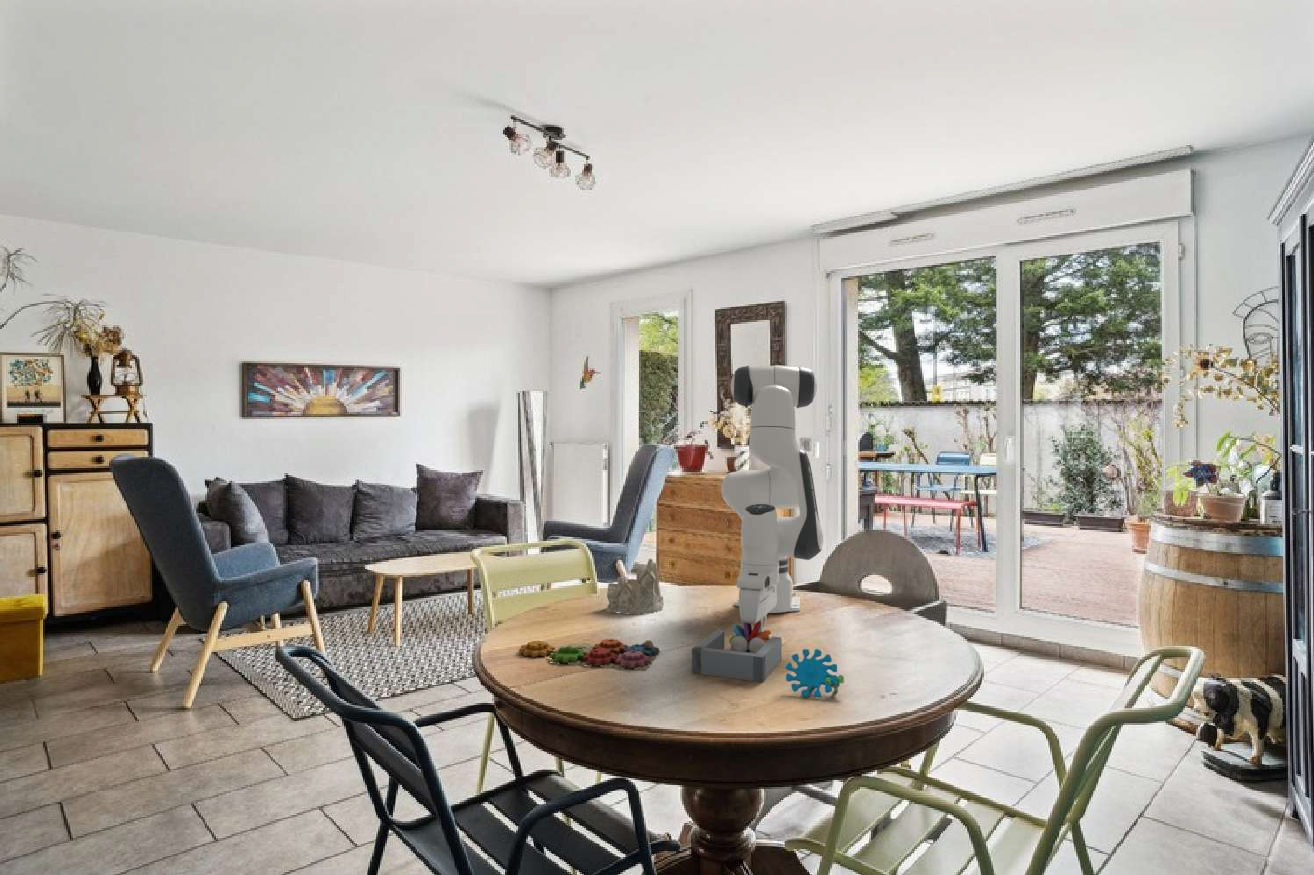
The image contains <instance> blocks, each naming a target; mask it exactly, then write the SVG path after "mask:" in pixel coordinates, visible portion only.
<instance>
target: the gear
mask: <svg viewBox="0 0 1314 875" xmlns="http://www.w3.org/2000/svg"><path fill="white" fill-rule="evenodd" d="M802 655H803V659H802V661H799V658H800V656H799V654H798V653H794V654H792V655H791V660H792V661H793V662H794V663H795V664H796V666H797V667H795V668H794V666H793V664H792V663H791V662H787V663H786V665H785V669H786V671H789V672H793V673H794V674H795V676H794V675H792V674H791V673H786V675H785V680H786V682H789V683H790V682H793V681H795V682H799V683H798V684H797V683H795V682H794V683H791V685H790V687H791V689H792V692H794V693H796V692H797V691H798V690H799V689H801V688H803V687H806V689H802V690H801V692H800V694H801V696H802V697H803V696H804V698H805V697H807V698H808V697H809V696H810V695H809V693H810V692H811V690H812V689H813V688H815V690H814V692H813V697H814V698H816V697H822V692H821V689H820V688H821V685H822V686H824V692H825V694H828V693H831V692H832V691H833V690H835V691H837V692H839V687H840V685H841V684H844V683H845V676H843V675H841V674H839V675H836V674H831V673H829V672H828V670H830V671H832V672H833V673H837V672H838V665H837V664H836V663H833V664H829V663H831V662H832V661H833V660H832V656H831V654H829V653H827V654H826V655H824V657H822V658H820V657H821V656H822V650H820V649H819V648H816V649H814V653H813V654H812V656H811V657H810V658H808V657H809V656H810V650H809V649H808V648H803V649H802ZM818 657H819V659H816V658H818ZM825 663H828V664H825ZM835 691H834V692H835Z"/></svg>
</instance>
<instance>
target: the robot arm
mask: <svg viewBox="0 0 1314 875" xmlns="http://www.w3.org/2000/svg"><path fill="white" fill-rule="evenodd" d="M817 391H818V383H817V379H816V377H815V373H814V372H813V371H812V369H810V368H808V367H803V366H799V367H795V366H791V365H789V366H788V365H779V364H778V365H777V364H775V365H760V366H759V365H757V366H750V365H745V366H740V367H737V369H736V370H734V374H733V375H732V378H731V381H730V393H731V395H732V398H733V401H734V402H735V403H736V404H737V405H740V406H742V407H744V409H748V407H751V412H750V423H749V424H750V425H749V442H748V443H749V444H748V445H749V450H750V452H751V454H752V455H753V456H755V457H756V458H757V459H758V460H759V461H761V462H762V463H763V464H765V465H767V466H770V467H769V469H763V470H762V469H758V470H757V469H741V470H737V471H733V472H729V473H727V474H726V475H725V477H724V478H723V480H722V482H721V488H720V492H721V496H722V500H723V501H724V502H725V504H726V505H727V506H728V507H729V508H731V509H732V510H733V511H734V512H735V513H736V514H737V515H738V516H739V518H740V520H741V530H740V531H741V532H740V545H741V549H742V552H741V553H742V554H741V558H740V570H739V574H738V576H737V578H736V588H738V589H739V591H738V599H737V600H734V601H733V603H734V604H733V605H734V606H736V607H738V608H739V619H740V621H741V622H742V623H743V624H744V623H751V625H753V627H754V626H755V625H756V623H757V622H758V621H760V622H761V626H760V629H759V631H758V632H763V631H766V622H767V615H768V614H781V613H789V612H799V611H801V597H800V596H798V595H796V592H794V589H793V588H794V586H793V585H794V582H793V579H792V577H791V575H790V573H789V572H788V571H789V570H790V569H789V558H793V559H799V560H805V561H810V560H812V559H813V558H815V557H817V555H819V554H820V553H821V551H822V550H823V546H824V534H823V529H822V527H821V523H820V518H819V511H818V505H817V499H816V498H817V497H816V492H815V491H816V490H815V483H814V478H813V472H812V468H811V461H810V458H809V455H808V454H807V452H806V451H804V450H803V449H801V447H800V446H799V444H798V442H797V437H796V435H797V434H796V410H795V407H796V409H801V408H804V407H808V406H809V405H811V404H813V402H814V399H815V397H816V394H817ZM797 508H798V509H799V510H798V511H799V515H798V516H778V513H777V510H792V509H797Z"/></svg>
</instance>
